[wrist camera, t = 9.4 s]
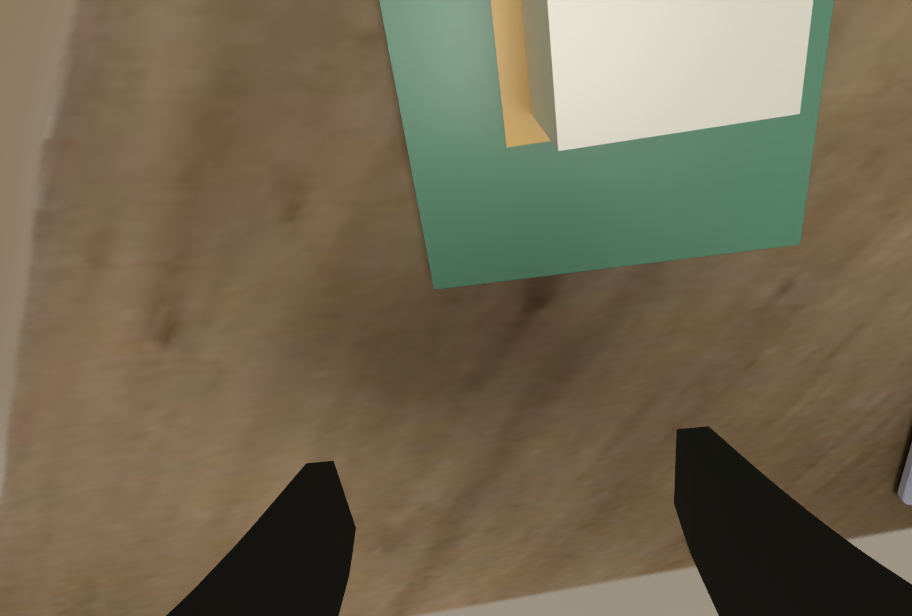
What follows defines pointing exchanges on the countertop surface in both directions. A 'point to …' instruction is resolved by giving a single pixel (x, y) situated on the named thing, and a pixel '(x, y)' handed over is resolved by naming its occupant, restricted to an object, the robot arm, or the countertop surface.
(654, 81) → the block
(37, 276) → the countertop surface
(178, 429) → the countertop surface
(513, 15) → the header board
